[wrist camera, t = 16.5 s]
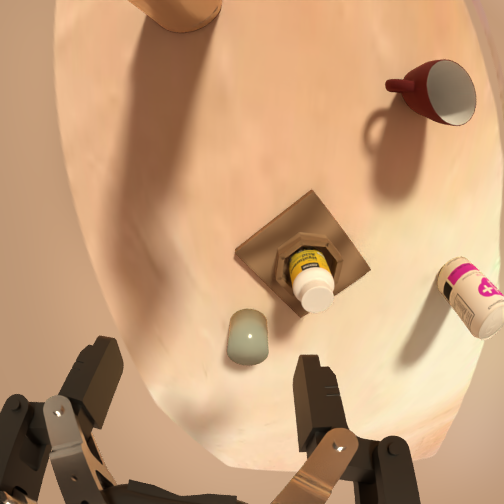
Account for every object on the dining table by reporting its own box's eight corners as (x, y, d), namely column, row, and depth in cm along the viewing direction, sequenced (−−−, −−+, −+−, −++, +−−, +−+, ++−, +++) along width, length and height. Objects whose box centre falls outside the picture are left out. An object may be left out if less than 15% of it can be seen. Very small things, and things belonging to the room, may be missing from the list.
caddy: (235, 249, 43) (233, 261, 40) (311, 189, 39) (317, 196, 35) (299, 313, 48) (302, 327, 45) (368, 265, 44) (376, 277, 41)
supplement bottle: (312, 237, 41) (327, 273, 32) (330, 264, 43) (347, 303, 34) (280, 257, 42) (287, 297, 33) (299, 282, 44) (309, 325, 35)
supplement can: (447, 250, 43) (495, 299, 29) (473, 259, 44) (518, 304, 30) (428, 288, 46) (467, 342, 33) (455, 294, 47) (493, 343, 34)
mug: (377, 120, 34) (412, 126, 25) (367, 65, 30) (401, 54, 21) (437, 118, 33) (479, 126, 24) (429, 67, 29) (471, 63, 20)
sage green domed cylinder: (222, 321, 49) (218, 350, 43) (250, 302, 47) (249, 331, 41) (247, 341, 52) (246, 370, 45) (274, 324, 50) (276, 353, 43)
